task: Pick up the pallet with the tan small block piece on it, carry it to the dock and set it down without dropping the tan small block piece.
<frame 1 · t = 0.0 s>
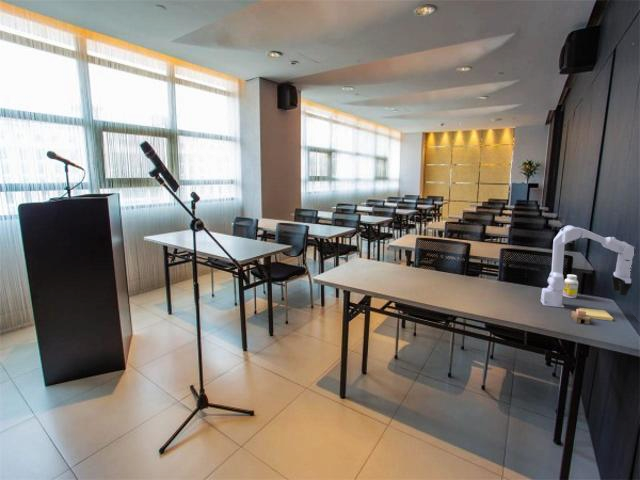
hand: (619, 292, 175), 10 cm above the table, fingers open, 7 cm apart
supplement bottle: (569, 296, 199), on the table
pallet: (579, 320, 166), on the table
tan small block piece: (580, 314, 165), point 3 cm above the table
dock: (595, 315, 171), on the table
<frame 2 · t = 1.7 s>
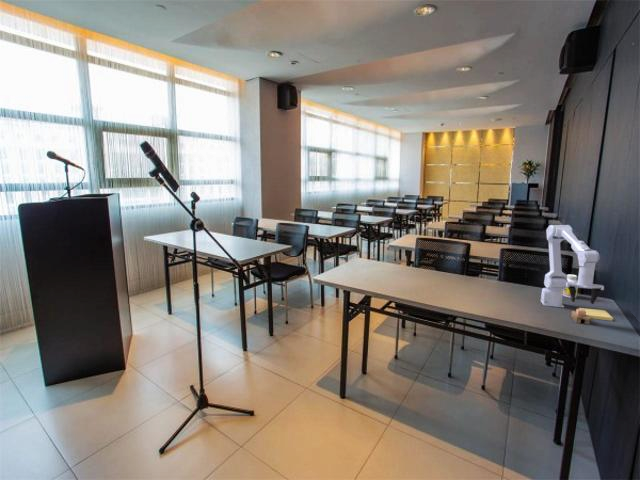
hand: (582, 302, 164), 9 cm above the table, fingers open, 7 cm apart
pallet: (579, 320, 166), on the table, touching tan small block piece
tan small block piece: (580, 314, 165), point 3 cm above the table, touching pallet
everything else where it was.
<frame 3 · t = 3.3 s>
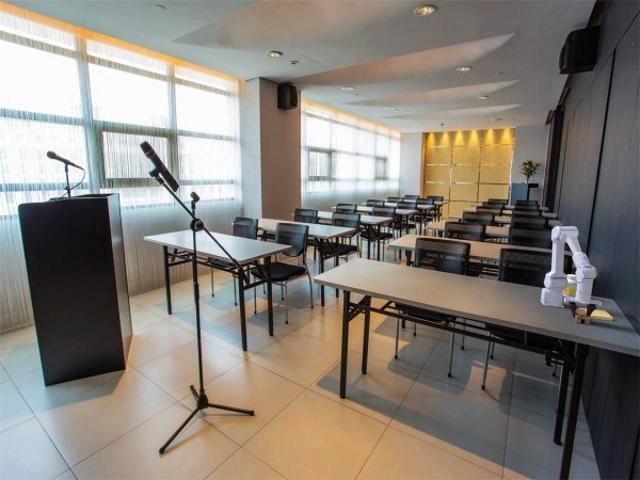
hand: (580, 317, 166), 1 cm above the table, fingers closed on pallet, 5 cm apart
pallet: (579, 320, 166), on the table, touching tan small block piece, gripper
everything else where it was.
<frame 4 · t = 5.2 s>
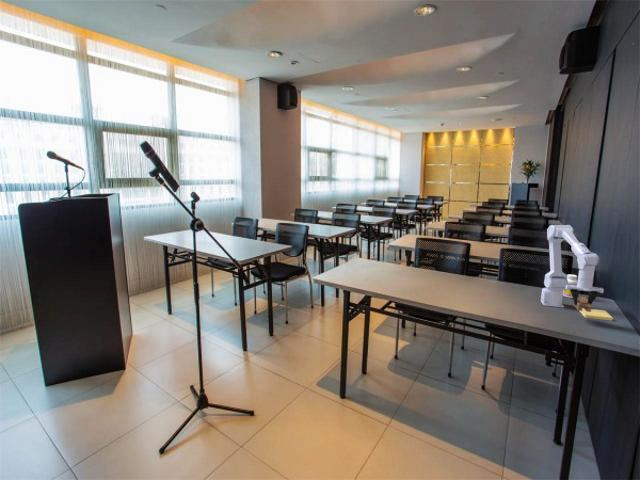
hand: (581, 305, 164), 8 cm above the table, fingers closed on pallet, 5 cm apart
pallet: (581, 308, 165), point 6 cm above the table, touching tan small block piece, gripper
tan small block piece: (582, 301, 164), point 10 cm above the table, touching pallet
everything else where it was.
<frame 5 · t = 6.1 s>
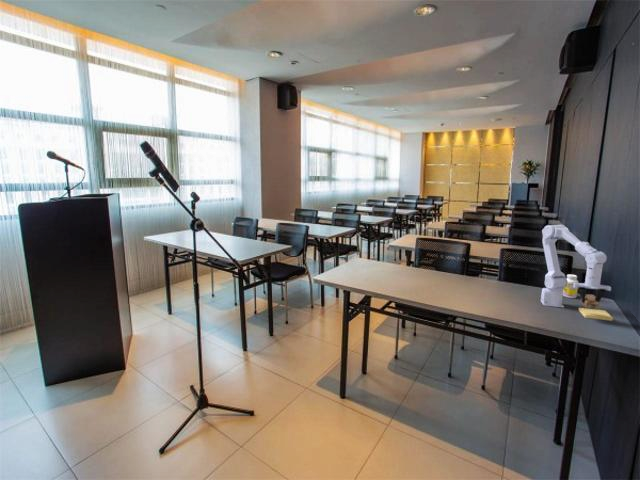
hand: (589, 302, 167), 8 cm above the table, fingers closed on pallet, 5 cm apart
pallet: (589, 305, 167), point 6 cm above the table, touching tan small block piece, gripper
tan small block piece: (590, 299, 167), point 10 cm above the table, touching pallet
everything else where it was.
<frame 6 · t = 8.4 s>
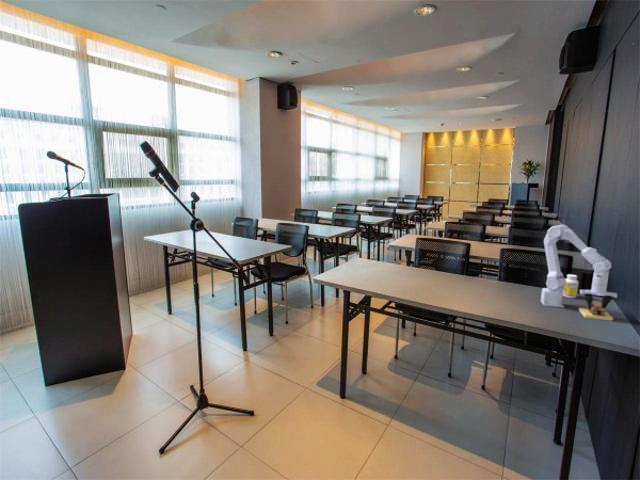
hand: (595, 309, 171), 3 cm above the table, fingers closed on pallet, 5 cm apart
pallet: (595, 312, 171), point 2 cm above the table, touching tan small block piece, gripper
tan small block piece: (596, 306, 170), point 5 cm above the table, touching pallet
everything else where it was.
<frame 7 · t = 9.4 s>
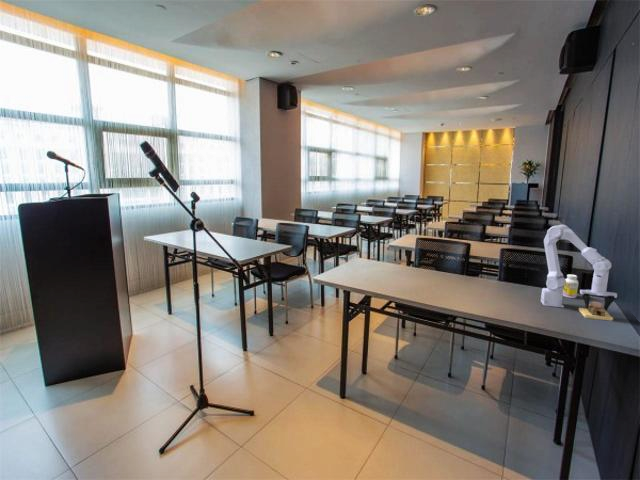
hand: (595, 309, 171), 3 cm above the table, fingers open, 7 cm apart
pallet: (595, 312, 171), point 1 cm above the table, touching tan small block piece, dock
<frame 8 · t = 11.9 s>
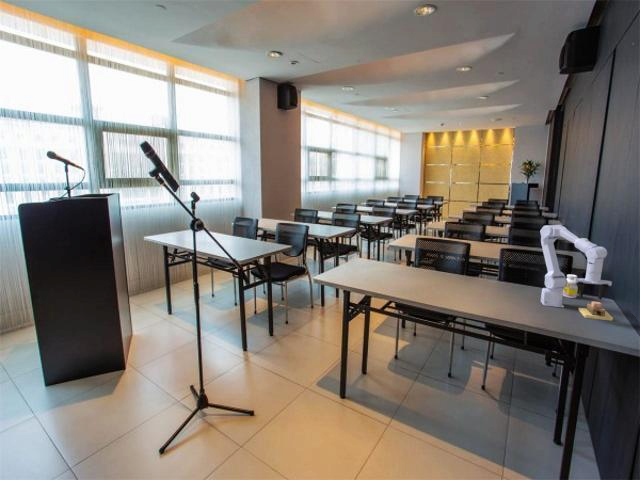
hand: (590, 297, 167), 10 cm above the table, fingers open, 7 cm apart
nothing on the table moved.
at the end: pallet inside the target area on the dock (0.1 cm from its centre), point 1.5 cm above the dock's base; tan small block piece 0.3 cm from the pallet (horizontally); tan small block piece point 4.7 cm above the table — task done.
